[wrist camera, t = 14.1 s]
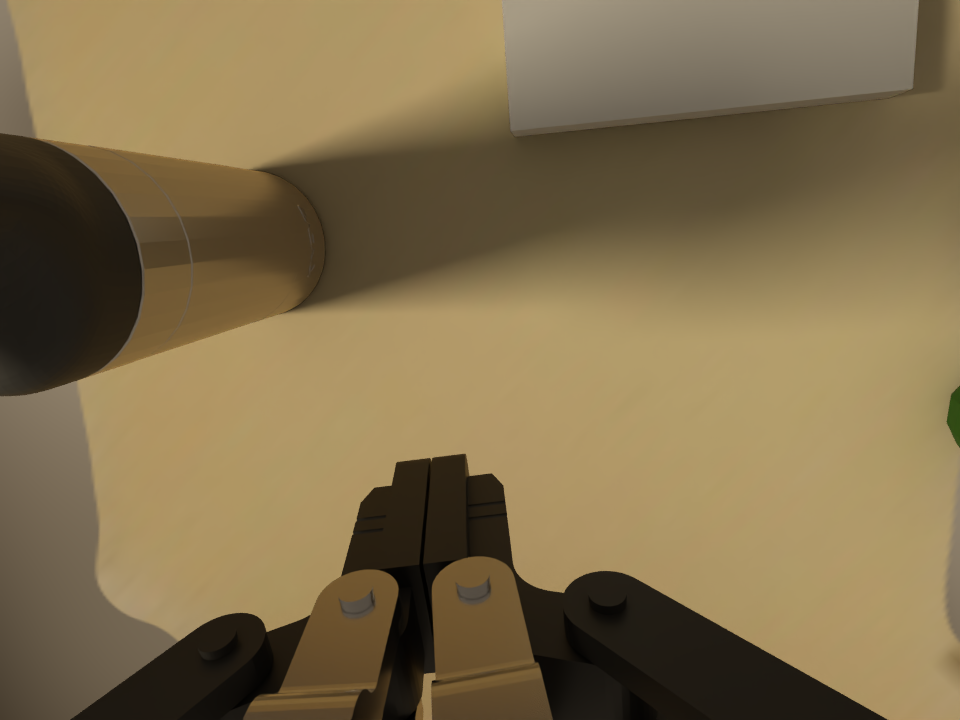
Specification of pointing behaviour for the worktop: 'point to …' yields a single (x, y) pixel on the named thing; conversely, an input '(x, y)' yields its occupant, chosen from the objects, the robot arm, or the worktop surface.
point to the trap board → (698, 58)
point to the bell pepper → (954, 415)
